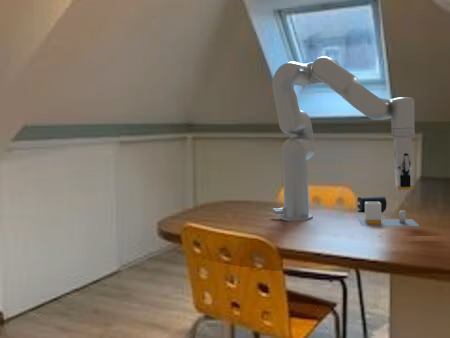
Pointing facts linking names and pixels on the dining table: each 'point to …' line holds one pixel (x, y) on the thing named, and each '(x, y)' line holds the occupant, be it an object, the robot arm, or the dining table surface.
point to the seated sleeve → (373, 212)
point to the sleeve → (397, 180)
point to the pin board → (392, 221)
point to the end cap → (370, 199)
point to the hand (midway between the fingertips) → (403, 185)
